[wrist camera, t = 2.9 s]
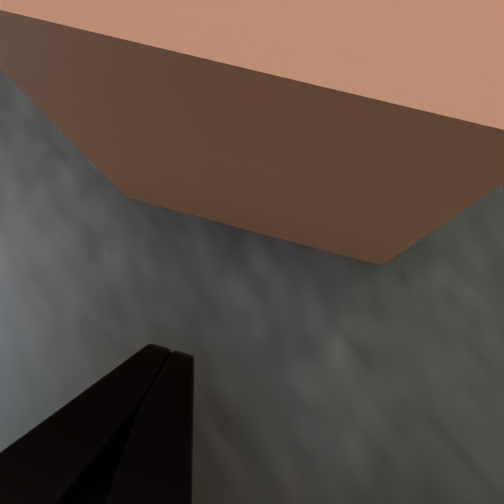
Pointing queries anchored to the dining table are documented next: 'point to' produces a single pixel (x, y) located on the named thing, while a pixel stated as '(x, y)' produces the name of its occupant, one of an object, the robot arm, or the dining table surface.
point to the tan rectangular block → (277, 108)
